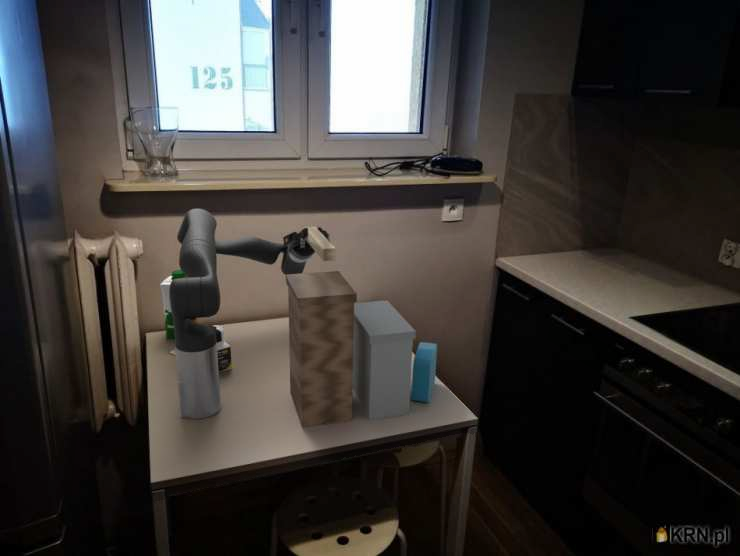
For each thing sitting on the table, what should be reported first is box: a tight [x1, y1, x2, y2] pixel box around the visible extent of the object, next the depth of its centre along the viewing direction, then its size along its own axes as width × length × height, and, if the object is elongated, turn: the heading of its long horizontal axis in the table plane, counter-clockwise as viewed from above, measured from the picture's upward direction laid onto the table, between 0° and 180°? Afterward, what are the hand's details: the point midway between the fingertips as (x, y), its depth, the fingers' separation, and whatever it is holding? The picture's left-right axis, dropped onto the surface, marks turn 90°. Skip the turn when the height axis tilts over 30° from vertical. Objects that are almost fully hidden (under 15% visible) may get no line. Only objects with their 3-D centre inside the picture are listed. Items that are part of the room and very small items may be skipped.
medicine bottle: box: [207, 324, 233, 373], centre depth 154 cm, size 7×7×12 cm
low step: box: [352, 300, 417, 421], centre depth 140 cm, size 11×20×22 cm, turn 17°
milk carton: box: [159, 269, 188, 340], centre depth 173 cm, size 9×9×20 cm
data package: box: [410, 341, 438, 404], centre depth 145 cm, size 12×4×12 cm, turn 166°
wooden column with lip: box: [285, 270, 358, 428], centre depth 133 cm, size 13×16×32 cm
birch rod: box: [303, 226, 337, 262], centre depth 142 cm, size 3×22×3 cm, turn 18°
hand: (313, 230), depth 148 cm, fingers closed on birch rod, 3 cm apart
